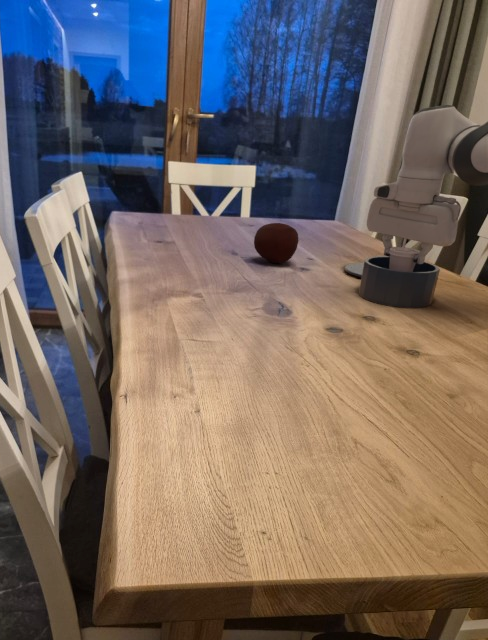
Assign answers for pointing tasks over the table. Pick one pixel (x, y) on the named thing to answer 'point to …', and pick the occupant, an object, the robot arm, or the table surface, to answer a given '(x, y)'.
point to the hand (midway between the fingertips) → (402, 259)
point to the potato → (276, 242)
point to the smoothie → (402, 258)
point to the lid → (355, 269)
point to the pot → (398, 283)
